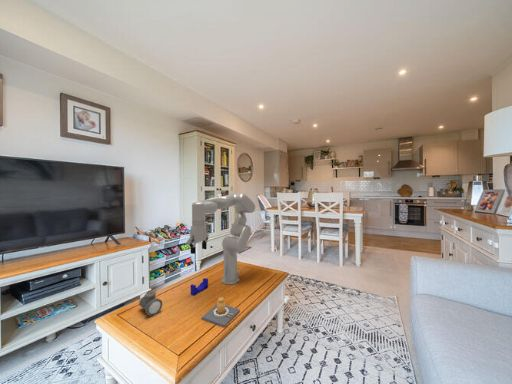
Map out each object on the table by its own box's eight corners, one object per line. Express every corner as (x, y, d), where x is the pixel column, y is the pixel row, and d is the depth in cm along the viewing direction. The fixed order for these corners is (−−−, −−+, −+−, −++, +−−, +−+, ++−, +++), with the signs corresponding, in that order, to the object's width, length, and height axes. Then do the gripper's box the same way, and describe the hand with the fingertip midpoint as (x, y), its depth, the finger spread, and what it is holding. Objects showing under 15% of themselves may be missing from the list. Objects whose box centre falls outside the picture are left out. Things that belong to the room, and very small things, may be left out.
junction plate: (218, 304, 113) (218, 301, 113) (239, 311, 107) (239, 307, 107) (201, 319, 101) (201, 315, 101) (224, 327, 95) (224, 323, 95)
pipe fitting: (163, 311, 107) (162, 292, 107) (147, 319, 101) (147, 299, 101) (152, 304, 115) (151, 286, 114) (136, 311, 108) (136, 292, 108)
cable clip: (203, 286, 136) (203, 277, 136) (208, 287, 134) (208, 278, 134) (188, 294, 126) (188, 284, 126) (193, 296, 124) (193, 286, 124)
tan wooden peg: (220, 309, 107) (220, 295, 107) (226, 311, 105) (226, 297, 105) (215, 314, 103) (215, 299, 103) (222, 316, 101) (222, 301, 101)
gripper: (203, 220, 130) (203, 246, 130) (182, 224, 114) (183, 254, 115) (212, 221, 127) (212, 248, 127) (192, 225, 111) (193, 256, 111)
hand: (198, 251), depth 121 cm, fingers open, 9 cm apart
